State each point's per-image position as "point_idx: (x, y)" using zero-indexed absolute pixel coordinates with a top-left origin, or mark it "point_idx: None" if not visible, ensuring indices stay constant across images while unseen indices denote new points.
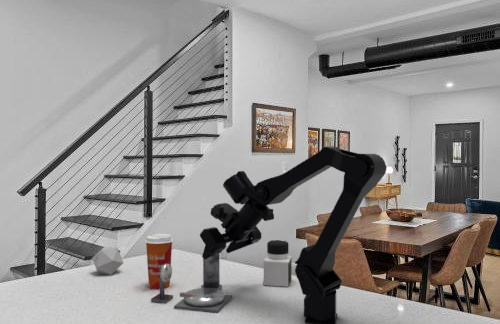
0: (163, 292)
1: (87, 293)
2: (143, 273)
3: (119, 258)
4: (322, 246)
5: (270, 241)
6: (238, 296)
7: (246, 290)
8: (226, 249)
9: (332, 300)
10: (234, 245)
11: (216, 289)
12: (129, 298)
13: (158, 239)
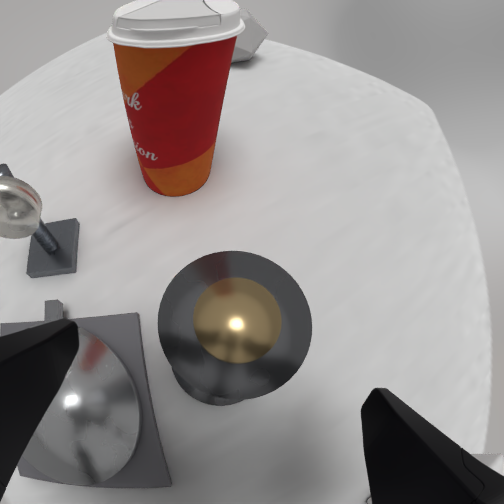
0: (39, 243)
1: (88, 93)
2: (264, 97)
3: (242, 39)
4: None
5: None
6: (198, 496)
7: (284, 487)
8: (379, 393)
9: None
10: (398, 489)
11: (129, 431)
12: (60, 168)
13: (114, 20)
